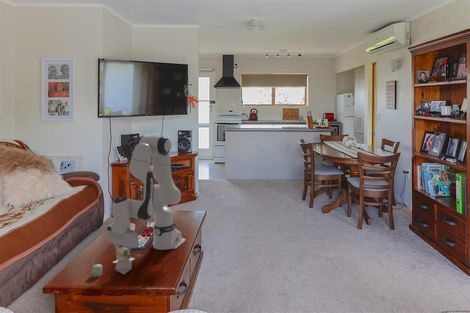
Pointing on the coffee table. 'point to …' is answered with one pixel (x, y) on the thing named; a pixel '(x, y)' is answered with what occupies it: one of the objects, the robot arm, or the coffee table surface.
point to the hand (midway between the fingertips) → (123, 252)
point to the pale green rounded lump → (97, 270)
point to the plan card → (129, 259)
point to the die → (123, 266)
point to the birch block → (122, 254)
